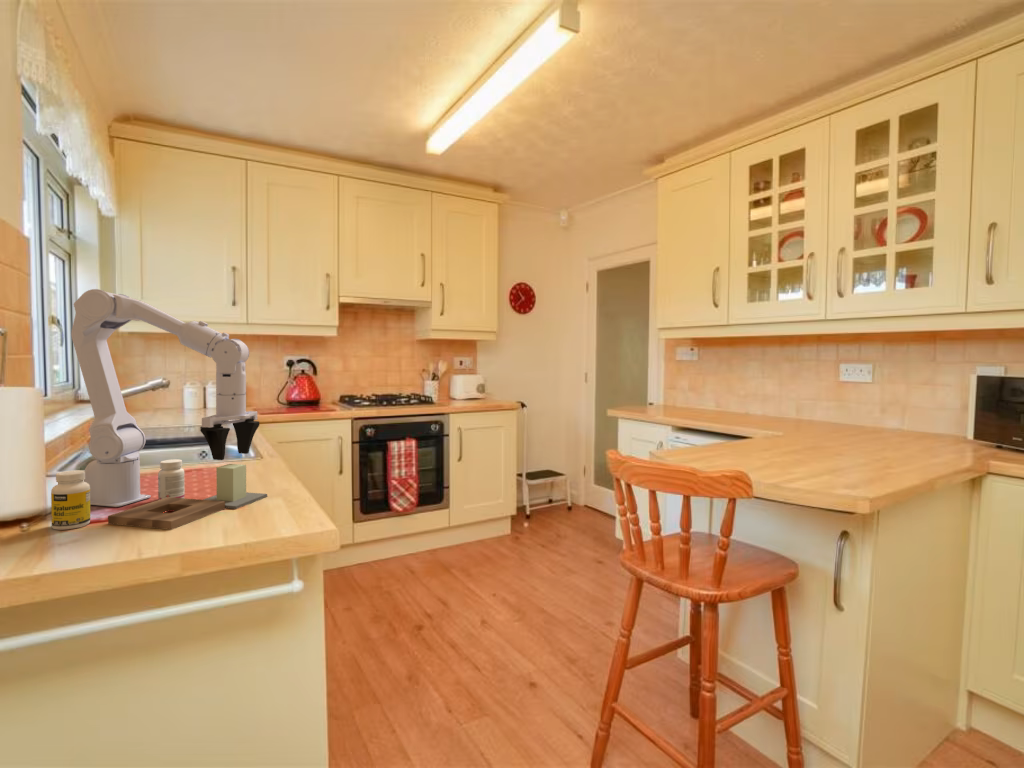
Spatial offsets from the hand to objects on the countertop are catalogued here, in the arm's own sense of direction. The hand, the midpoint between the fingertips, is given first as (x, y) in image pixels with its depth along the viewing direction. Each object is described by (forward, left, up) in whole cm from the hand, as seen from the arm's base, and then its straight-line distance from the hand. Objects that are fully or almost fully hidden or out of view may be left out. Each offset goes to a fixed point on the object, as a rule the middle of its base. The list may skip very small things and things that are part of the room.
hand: (231, 456), depth 113 cm
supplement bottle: (-15, -22, -10) cm, 29 cm away
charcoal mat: (+1, -1, -9) cm, 10 cm away
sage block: (+1, -2, -9) cm, 9 cm away
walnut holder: (-3, -13, -9) cm, 17 cm away
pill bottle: (-12, -3, -10) cm, 16 cm away
